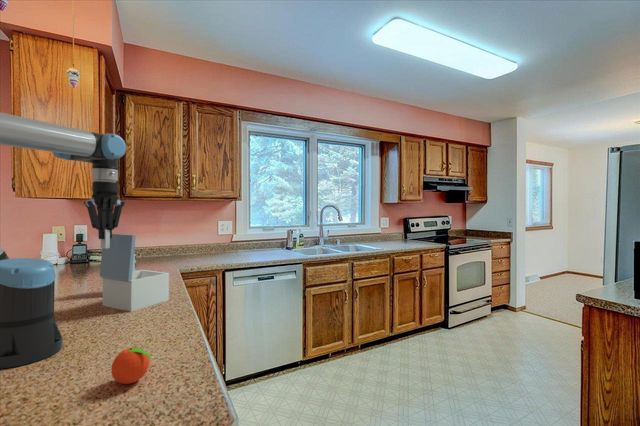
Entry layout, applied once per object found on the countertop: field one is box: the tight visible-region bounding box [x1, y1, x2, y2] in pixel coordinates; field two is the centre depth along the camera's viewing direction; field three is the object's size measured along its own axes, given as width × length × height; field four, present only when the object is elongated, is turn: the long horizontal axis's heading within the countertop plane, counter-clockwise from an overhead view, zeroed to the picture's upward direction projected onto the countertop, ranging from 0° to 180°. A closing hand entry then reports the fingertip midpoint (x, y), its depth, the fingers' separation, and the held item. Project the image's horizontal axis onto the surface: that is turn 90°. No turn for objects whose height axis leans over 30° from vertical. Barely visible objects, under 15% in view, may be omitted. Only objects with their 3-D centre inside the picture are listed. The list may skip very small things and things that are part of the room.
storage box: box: [102, 269, 170, 312], centre depth 124 cm, size 16×16×11 cm
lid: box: [99, 233, 137, 282], centre depth 117 cm, size 17×16×1 cm
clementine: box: [110, 347, 152, 385], centre depth 67 cm, size 8×7×7 cm
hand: (105, 248), depth 113 cm, fingers closed
